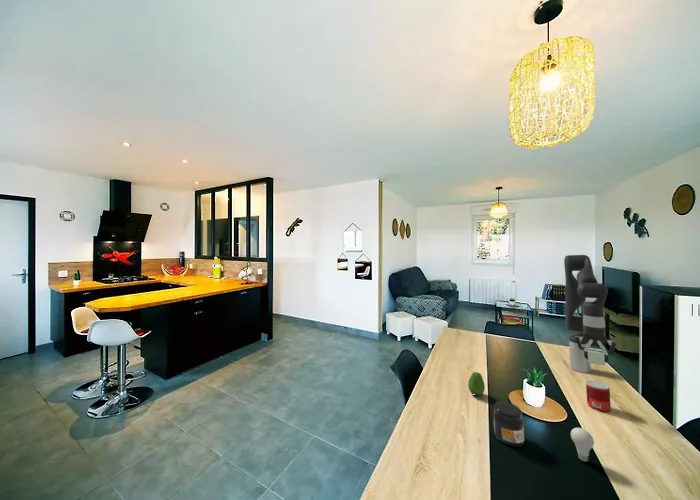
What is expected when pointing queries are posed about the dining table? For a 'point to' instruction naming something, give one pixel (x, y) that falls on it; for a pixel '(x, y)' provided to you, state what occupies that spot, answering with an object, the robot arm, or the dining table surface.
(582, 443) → the lightbulb
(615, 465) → the dining table surface
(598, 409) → the canned food
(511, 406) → the supplement container
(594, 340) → the robot arm
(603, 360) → the sage block
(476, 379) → the avocado
